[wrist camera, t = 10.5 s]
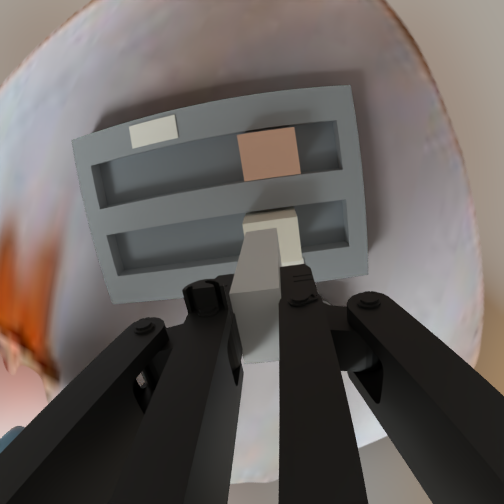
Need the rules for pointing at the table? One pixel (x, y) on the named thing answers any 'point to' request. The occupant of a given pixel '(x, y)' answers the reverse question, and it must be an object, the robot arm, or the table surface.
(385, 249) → the table surface
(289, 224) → the cream block
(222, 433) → the robot arm
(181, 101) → the table surface
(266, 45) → the table surface
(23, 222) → the table surface
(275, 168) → the tan block
